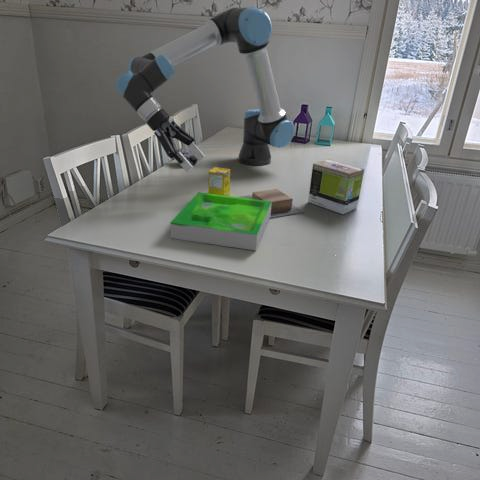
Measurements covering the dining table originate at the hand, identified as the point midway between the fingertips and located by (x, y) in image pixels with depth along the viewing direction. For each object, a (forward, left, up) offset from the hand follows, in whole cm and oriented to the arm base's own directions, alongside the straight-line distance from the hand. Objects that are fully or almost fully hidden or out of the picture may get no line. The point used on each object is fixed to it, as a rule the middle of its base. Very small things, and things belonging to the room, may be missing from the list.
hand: (196, 164), depth 145 cm
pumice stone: (-37, +11, -13) cm, 41 cm away
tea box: (+24, +43, -13) cm, 50 cm away
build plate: (+16, +21, -12) cm, 29 cm away
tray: (+26, -1, -12) cm, 29 cm away
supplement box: (+5, +7, -12) cm, 15 cm away
